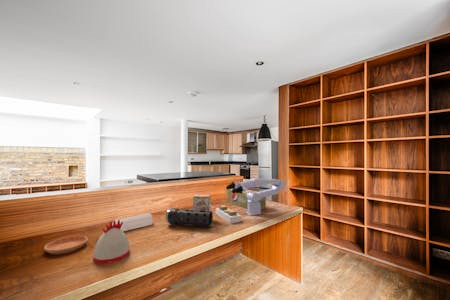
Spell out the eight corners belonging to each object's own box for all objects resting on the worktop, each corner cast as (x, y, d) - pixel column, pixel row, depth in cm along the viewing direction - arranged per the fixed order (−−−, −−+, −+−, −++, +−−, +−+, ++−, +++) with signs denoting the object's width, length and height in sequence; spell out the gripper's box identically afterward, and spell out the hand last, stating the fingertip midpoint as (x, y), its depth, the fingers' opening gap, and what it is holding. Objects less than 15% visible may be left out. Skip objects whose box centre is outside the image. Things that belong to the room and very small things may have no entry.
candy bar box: (192, 220, 132) (192, 196, 132) (194, 218, 137) (194, 194, 137) (209, 221, 131) (209, 196, 131) (210, 218, 136) (210, 195, 136)
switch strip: (225, 212, 151) (225, 207, 151) (240, 221, 130) (240, 215, 130) (215, 213, 148) (215, 208, 148) (230, 223, 126) (230, 217, 126)
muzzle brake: (208, 231, 114) (208, 213, 115) (164, 227, 120) (164, 210, 120) (212, 225, 124) (213, 208, 124) (171, 222, 129) (171, 206, 129)
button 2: (233, 214, 135) (233, 209, 136) (236, 216, 131) (236, 211, 132) (227, 215, 134) (227, 210, 134) (230, 217, 130) (230, 212, 130)
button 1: (224, 209, 148) (224, 205, 148) (227, 210, 144) (227, 206, 144) (219, 210, 146) (219, 205, 146) (221, 211, 142) (221, 207, 142)
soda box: (266, 209, 161) (266, 193, 162) (253, 211, 154) (253, 195, 154) (237, 199, 195) (237, 186, 196) (225, 201, 188) (225, 187, 188)
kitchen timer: (134, 254, 87) (135, 220, 87) (99, 267, 77) (100, 229, 77) (122, 245, 96) (122, 214, 97) (89, 255, 86) (89, 221, 86)
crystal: (149, 215, 131) (109, 223, 115) (153, 211, 127) (111, 220, 111) (151, 226, 128) (110, 236, 112) (155, 223, 124) (112, 233, 108)
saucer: (81, 238, 104) (82, 232, 105) (92, 247, 94) (92, 240, 94) (41, 249, 92) (41, 243, 92) (47, 261, 82) (48, 253, 82)
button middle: (228, 213, 142) (228, 209, 142) (231, 215, 138) (231, 210, 138) (223, 214, 140) (223, 210, 140) (226, 216, 136) (226, 211, 136)
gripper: (239, 177, 150) (224, 181, 144) (250, 183, 138) (234, 187, 132) (239, 185, 152) (224, 190, 145) (251, 192, 140) (235, 197, 133)
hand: (229, 189), depth 139 cm, fingers open, 7 cm apart
